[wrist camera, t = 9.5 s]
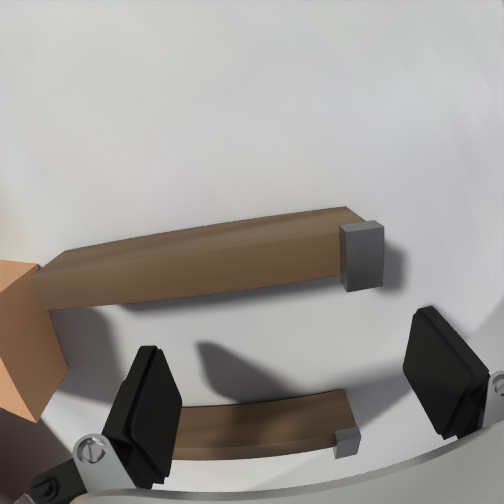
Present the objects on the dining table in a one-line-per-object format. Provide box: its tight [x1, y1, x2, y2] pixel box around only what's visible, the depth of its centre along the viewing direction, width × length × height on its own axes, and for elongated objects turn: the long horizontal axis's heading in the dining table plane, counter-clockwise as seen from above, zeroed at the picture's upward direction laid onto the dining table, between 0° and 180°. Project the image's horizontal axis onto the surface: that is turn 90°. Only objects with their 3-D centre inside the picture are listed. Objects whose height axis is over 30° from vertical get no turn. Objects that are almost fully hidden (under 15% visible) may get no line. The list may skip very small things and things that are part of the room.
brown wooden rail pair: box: [29, 206, 384, 460], centre depth 10 cm, size 10×10×3 cm
